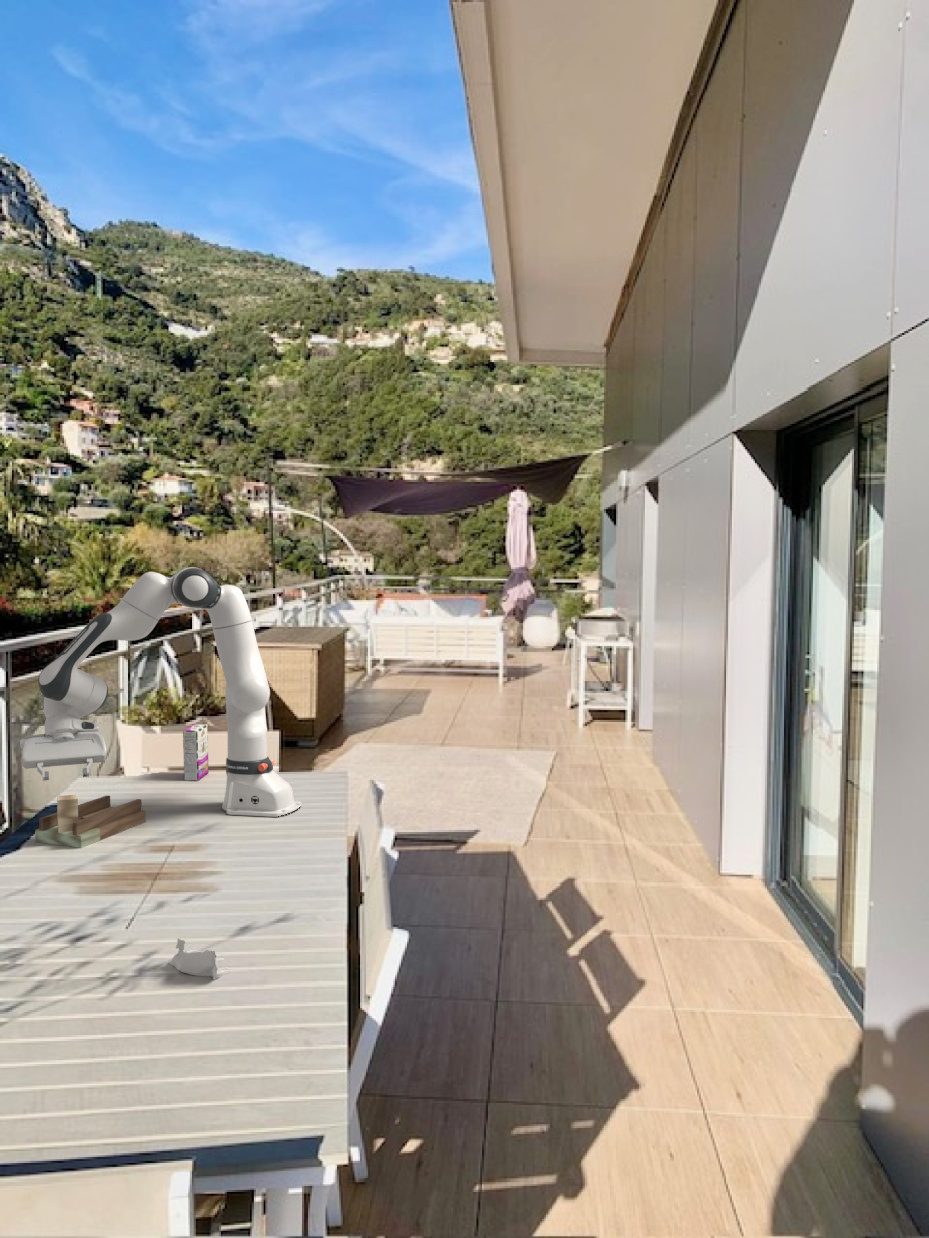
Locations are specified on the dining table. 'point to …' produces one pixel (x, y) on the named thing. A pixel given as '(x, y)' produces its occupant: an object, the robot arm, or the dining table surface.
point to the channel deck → (92, 823)
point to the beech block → (67, 812)
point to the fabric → (197, 962)
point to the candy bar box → (195, 752)
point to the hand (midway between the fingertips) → (66, 777)
